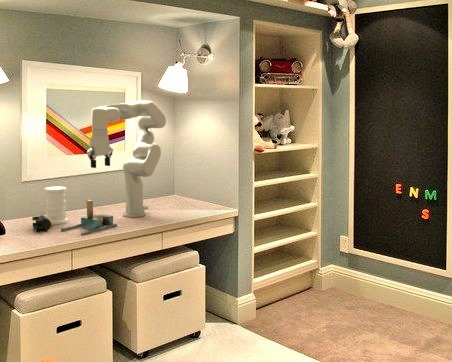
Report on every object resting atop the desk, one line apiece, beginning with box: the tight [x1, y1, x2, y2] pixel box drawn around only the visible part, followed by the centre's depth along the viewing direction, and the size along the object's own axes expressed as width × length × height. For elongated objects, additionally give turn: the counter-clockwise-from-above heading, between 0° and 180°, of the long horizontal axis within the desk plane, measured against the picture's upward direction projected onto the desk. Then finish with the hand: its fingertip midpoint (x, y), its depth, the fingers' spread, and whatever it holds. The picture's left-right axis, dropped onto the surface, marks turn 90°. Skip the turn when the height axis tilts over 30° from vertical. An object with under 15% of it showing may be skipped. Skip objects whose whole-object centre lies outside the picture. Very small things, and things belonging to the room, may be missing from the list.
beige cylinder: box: [93, 213, 104, 227], centre depth 286 cm, size 5×5×6 cm
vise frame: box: [60, 213, 118, 236], centre depth 282 cm, size 23×16×5 cm
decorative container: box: [44, 185, 69, 225], centre depth 295 cm, size 12×12×18 cm
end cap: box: [31, 214, 52, 233], centre depth 278 cm, size 10×7×7 cm
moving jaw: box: [80, 199, 100, 230], centre depth 282 cm, size 3×10×14 cm, turn 57°
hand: (100, 166), depth 285 cm, fingers open, 9 cm apart
